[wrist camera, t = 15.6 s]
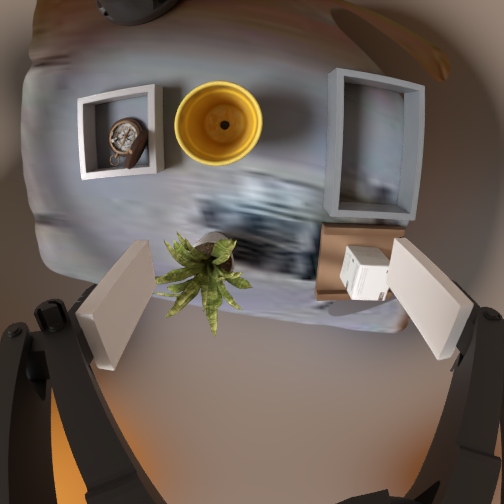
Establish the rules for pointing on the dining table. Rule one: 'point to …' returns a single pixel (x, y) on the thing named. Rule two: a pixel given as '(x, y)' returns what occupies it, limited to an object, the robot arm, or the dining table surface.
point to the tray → (335, 247)
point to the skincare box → (365, 273)
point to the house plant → (203, 274)
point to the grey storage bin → (410, 152)
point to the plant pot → (218, 123)
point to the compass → (128, 141)
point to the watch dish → (89, 132)
